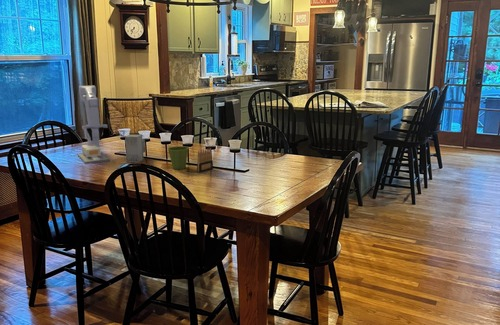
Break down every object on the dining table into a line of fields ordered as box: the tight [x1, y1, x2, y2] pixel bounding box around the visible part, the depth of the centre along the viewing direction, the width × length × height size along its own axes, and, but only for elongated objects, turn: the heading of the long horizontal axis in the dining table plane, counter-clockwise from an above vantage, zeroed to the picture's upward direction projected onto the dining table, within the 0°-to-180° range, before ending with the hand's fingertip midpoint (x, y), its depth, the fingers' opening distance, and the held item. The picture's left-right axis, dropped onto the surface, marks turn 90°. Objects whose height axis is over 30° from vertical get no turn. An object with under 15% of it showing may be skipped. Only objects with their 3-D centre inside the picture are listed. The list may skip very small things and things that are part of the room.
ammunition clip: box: [196, 147, 214, 174], centre depth 244 cm, size 11×2×12 cm, turn 142°
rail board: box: [77, 144, 111, 165], centre depth 277 cm, size 26×14×6 cm, turn 29°
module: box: [85, 147, 102, 157], centre depth 276 cm, size 5×8×4 cm, turn 119°
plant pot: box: [167, 145, 190, 170], centre depth 250 cm, size 12×12×11 cm
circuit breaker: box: [124, 133, 146, 163], centre depth 272 cm, size 8×14×15 cm, turn 174°
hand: (96, 140), depth 279 cm, fingers open, 4 cm apart
